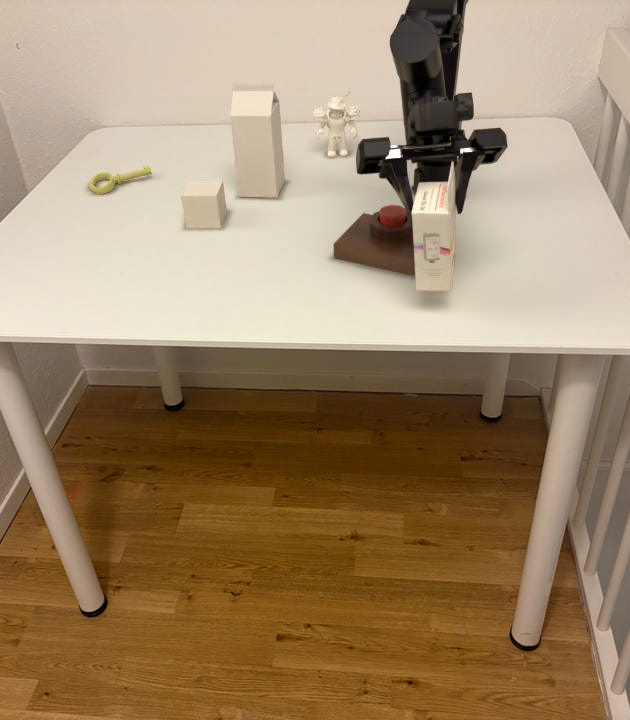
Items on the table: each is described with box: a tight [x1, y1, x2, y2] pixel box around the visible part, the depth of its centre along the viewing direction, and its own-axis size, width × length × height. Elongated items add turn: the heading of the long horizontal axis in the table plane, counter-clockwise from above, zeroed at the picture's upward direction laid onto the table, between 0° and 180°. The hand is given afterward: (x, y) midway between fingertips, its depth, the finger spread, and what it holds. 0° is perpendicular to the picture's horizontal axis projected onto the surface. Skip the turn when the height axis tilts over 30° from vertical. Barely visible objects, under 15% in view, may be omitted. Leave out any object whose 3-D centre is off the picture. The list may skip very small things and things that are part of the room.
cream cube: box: [180, 179, 228, 229], centre depth 123 cm, size 6×6×6 cm
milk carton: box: [229, 83, 286, 199], centre depth 127 cm, size 7×7×19 cm
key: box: [88, 165, 152, 195], centre depth 140 cm, size 7×12×2 cm, turn 123°
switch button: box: [379, 204, 406, 226], centre depth 111 cm, size 4×4×2 cm
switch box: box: [333, 210, 415, 277], centre depth 112 cm, size 11×13×4 cm
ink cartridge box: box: [412, 161, 457, 292], centre depth 94 cm, size 9×5×15 cm, turn 167°
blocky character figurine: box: [312, 90, 360, 158], centre depth 141 cm, size 9×4×12 cm, turn 89°
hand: (436, 215), depth 93 cm, fingers closed on ink cartridge box, 6 cm apart
